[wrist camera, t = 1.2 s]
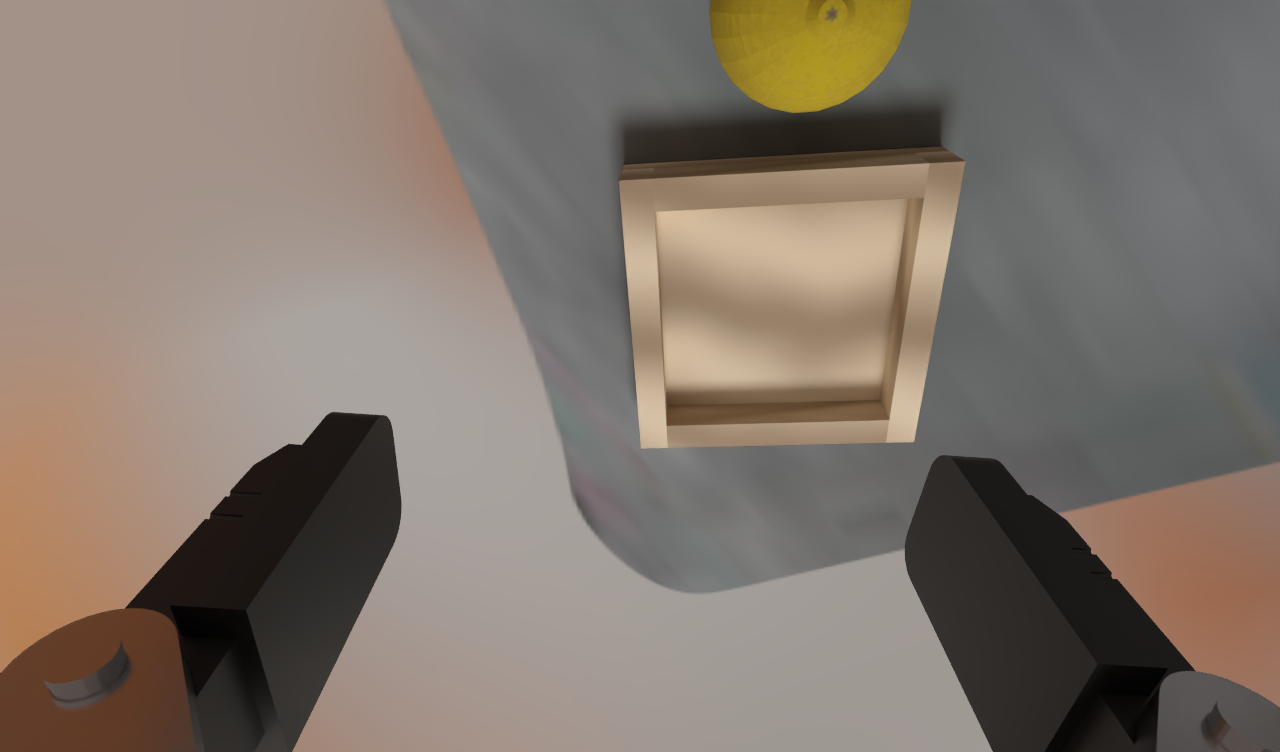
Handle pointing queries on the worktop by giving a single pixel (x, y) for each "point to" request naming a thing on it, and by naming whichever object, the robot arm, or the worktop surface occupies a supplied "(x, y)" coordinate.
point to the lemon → (806, 47)
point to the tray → (786, 294)
